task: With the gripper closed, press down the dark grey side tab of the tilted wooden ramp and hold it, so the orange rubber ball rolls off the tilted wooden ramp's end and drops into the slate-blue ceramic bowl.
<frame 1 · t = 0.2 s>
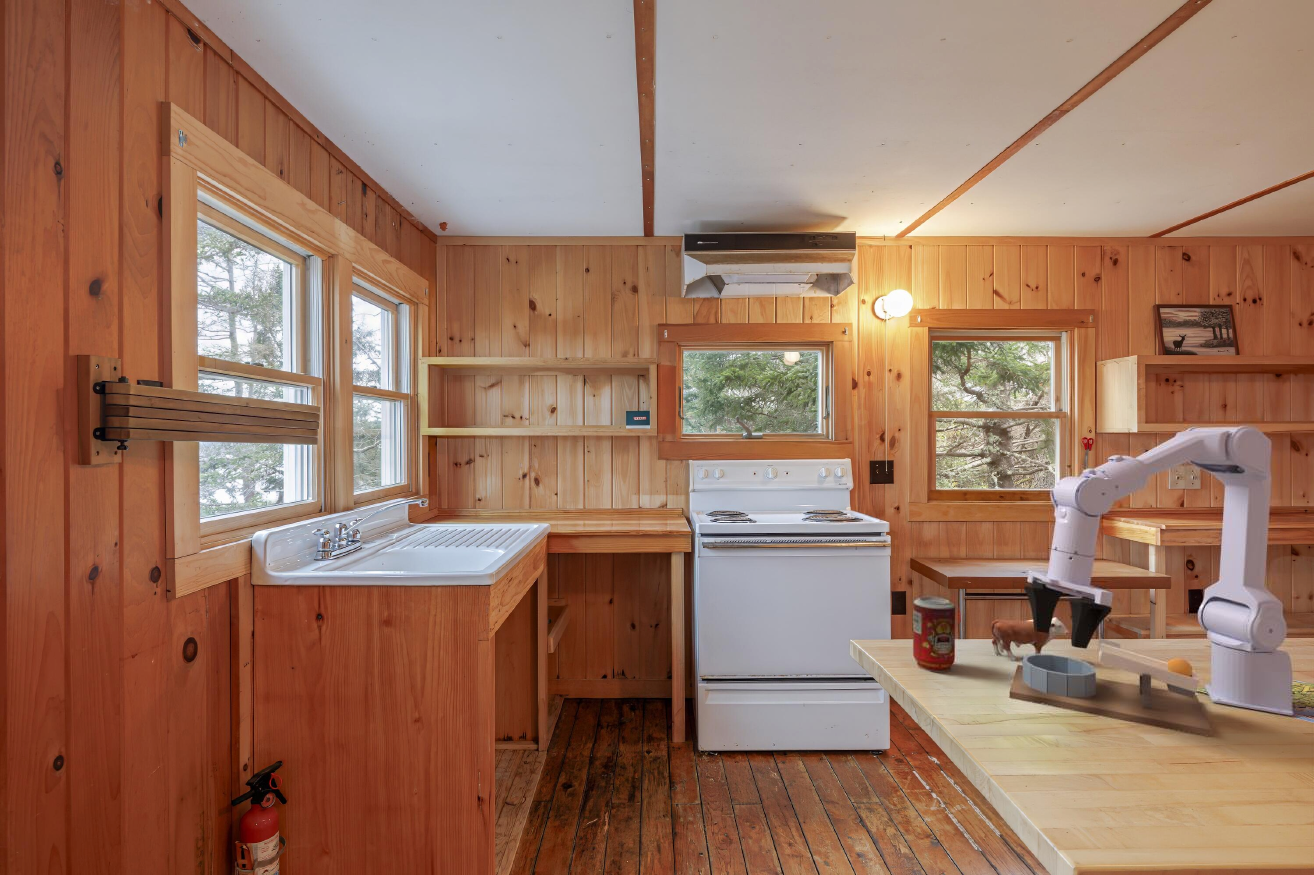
hand: (1059, 639, 102), 11 cm above the worktop, tool pointing down, fingers open, 7 cm apart
bull figurine: (1027, 659, 124), on the worktop
soda can: (933, 667, 120), on the worktop
ball: (1179, 668, 99), point 7 cm above the worktop, tilted 13°, touching tilted wooden ramp
base board: (1102, 699, 105), on the worktop
bowl: (1058, 691, 108), resting on base board
tilted wooden ramp: (1143, 662, 105), point 6 cm above the worktop, hinge at -10.0°, touching ball
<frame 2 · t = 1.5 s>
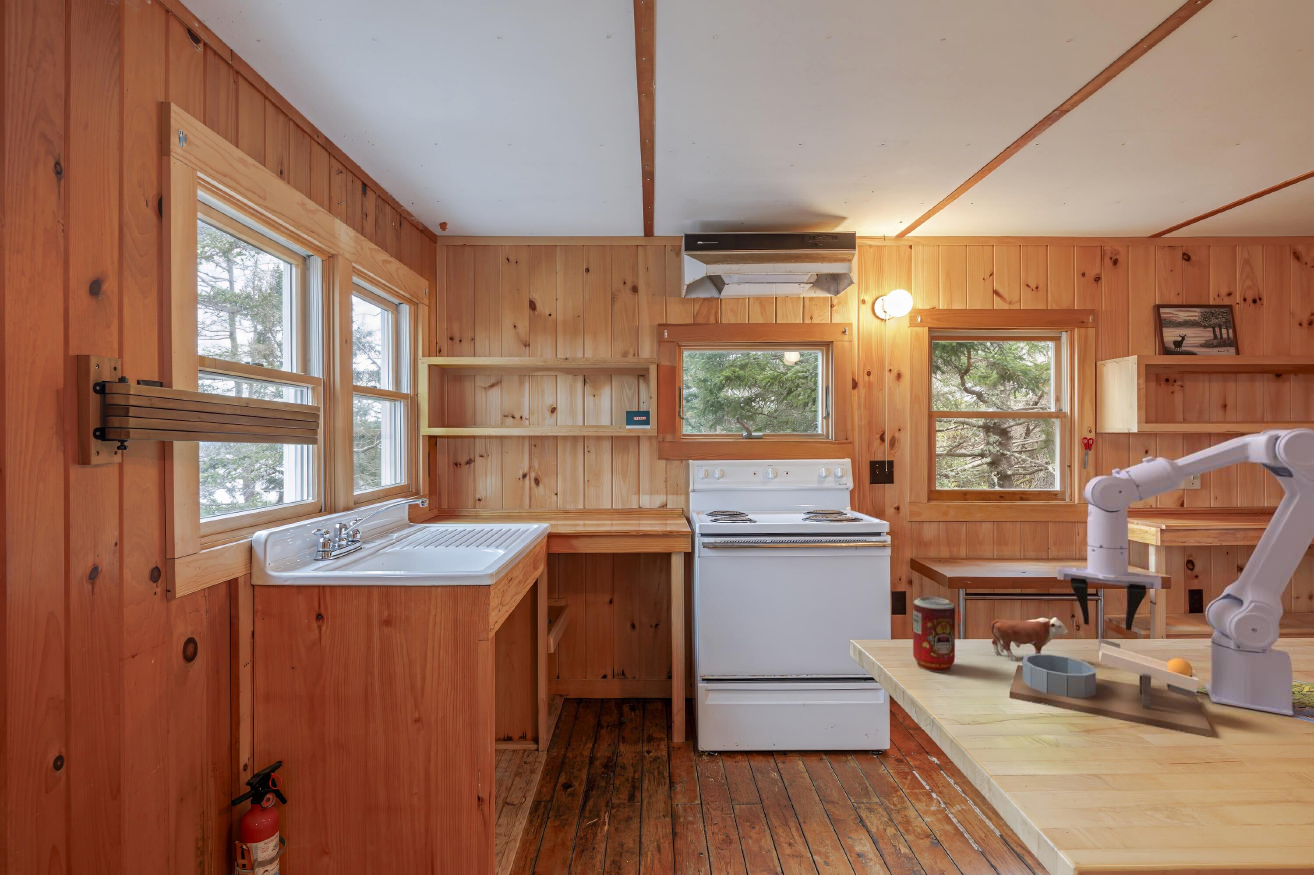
hand: (1107, 626, 111), 10 cm above the worktop, tool pointing down, fingers open, 5 cm apart
nothing on the worktop moved.
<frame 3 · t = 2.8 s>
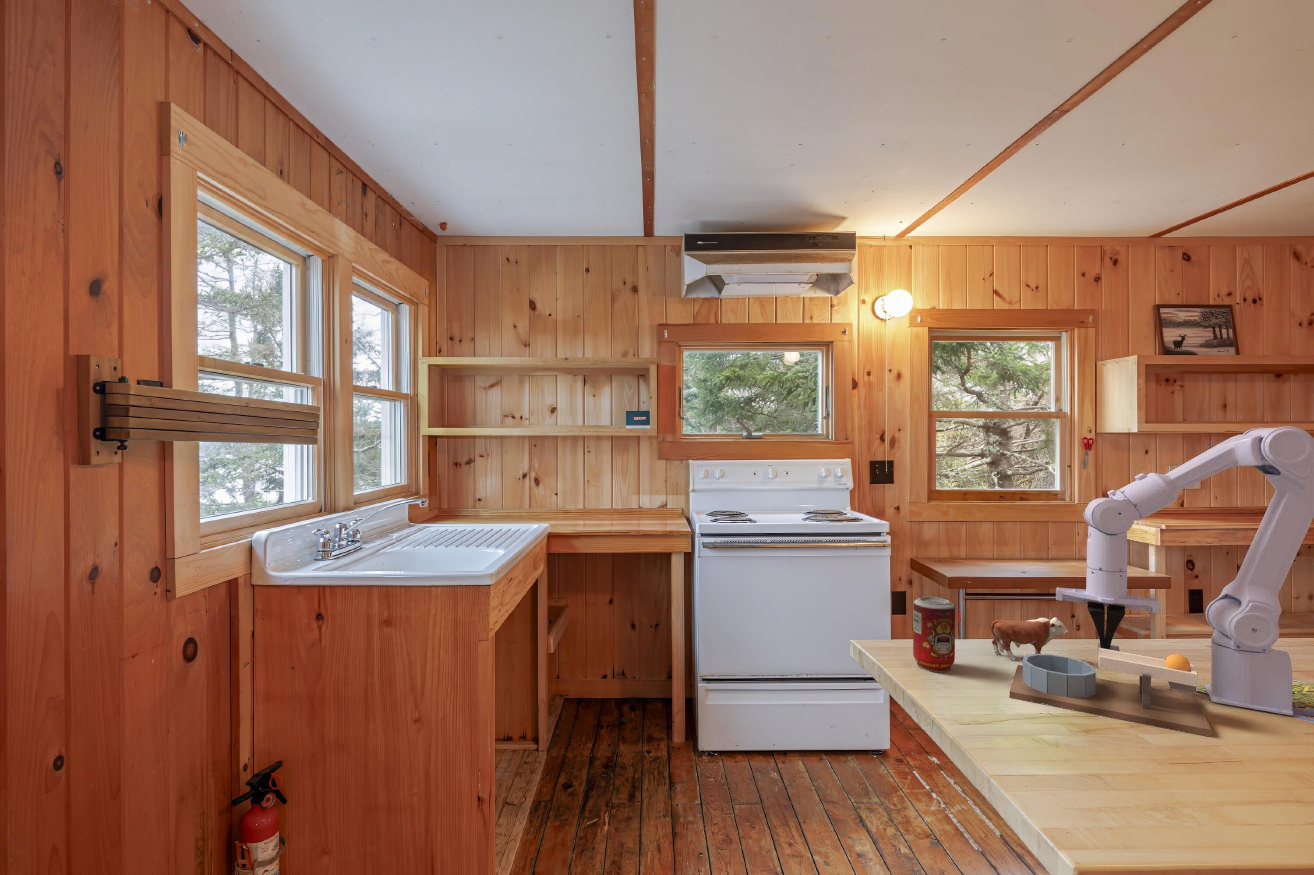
hand: (1105, 648, 112), 6 cm above the worktop, tool pointing down, fingers closed, pressing on tilted wooden ramp
ball: (1177, 664, 99), point 7 cm above the worktop, touching tilted wooden ramp
tilted wooden ramp: (1143, 662, 105), point 6 cm above the worktop, hinge at -1.8°, touching ball, gripper
everything else where it was.
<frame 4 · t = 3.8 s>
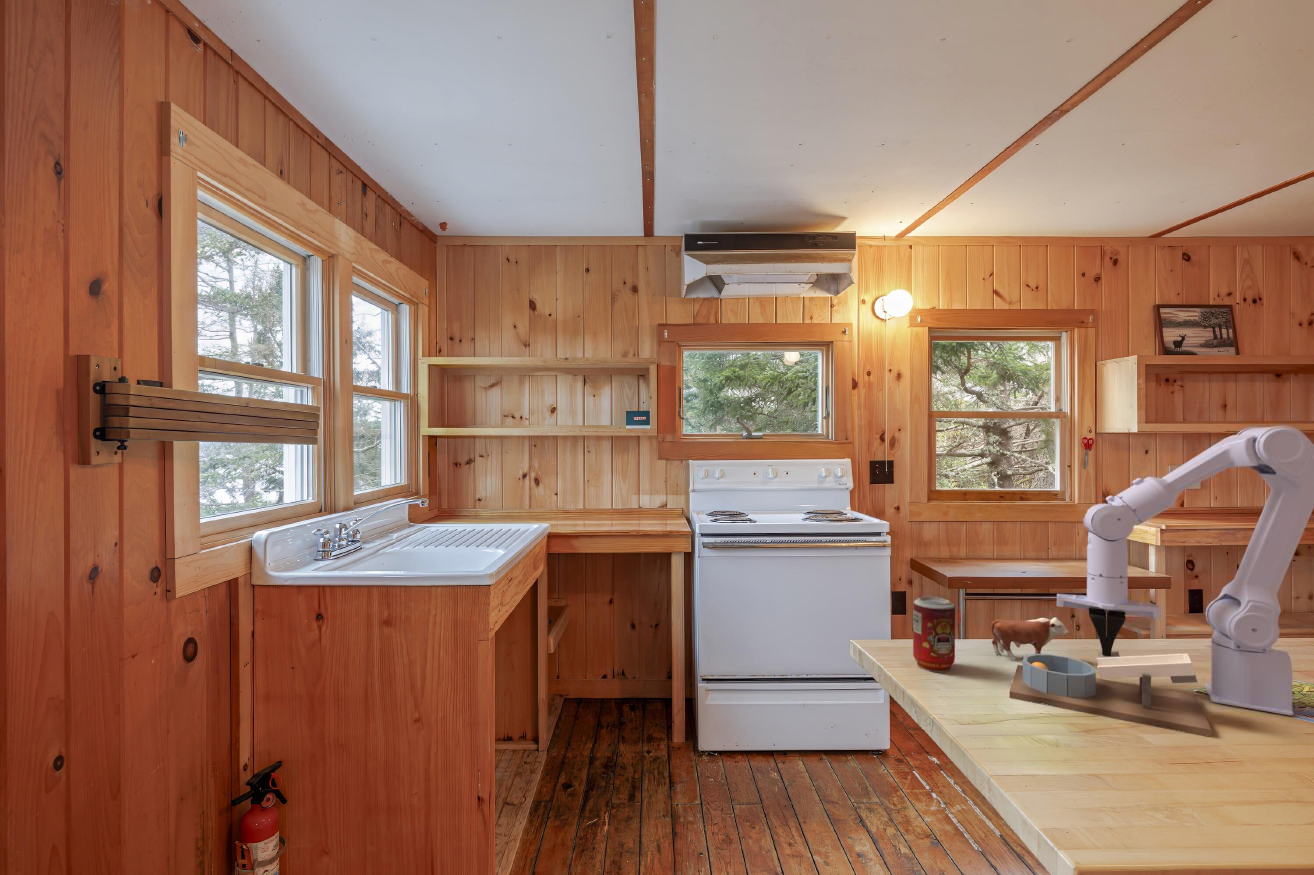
hand: (1106, 654, 111), 5 cm above the worktop, tool pointing down, fingers closed
ball: (1038, 671, 110), point 3 cm above the worktop, tilted 9°, touching bowl
tilted wooden ramp: (1142, 662, 105), point 6 cm above the worktop, hinge at 14.0°, touching gripper
everything else where it was.
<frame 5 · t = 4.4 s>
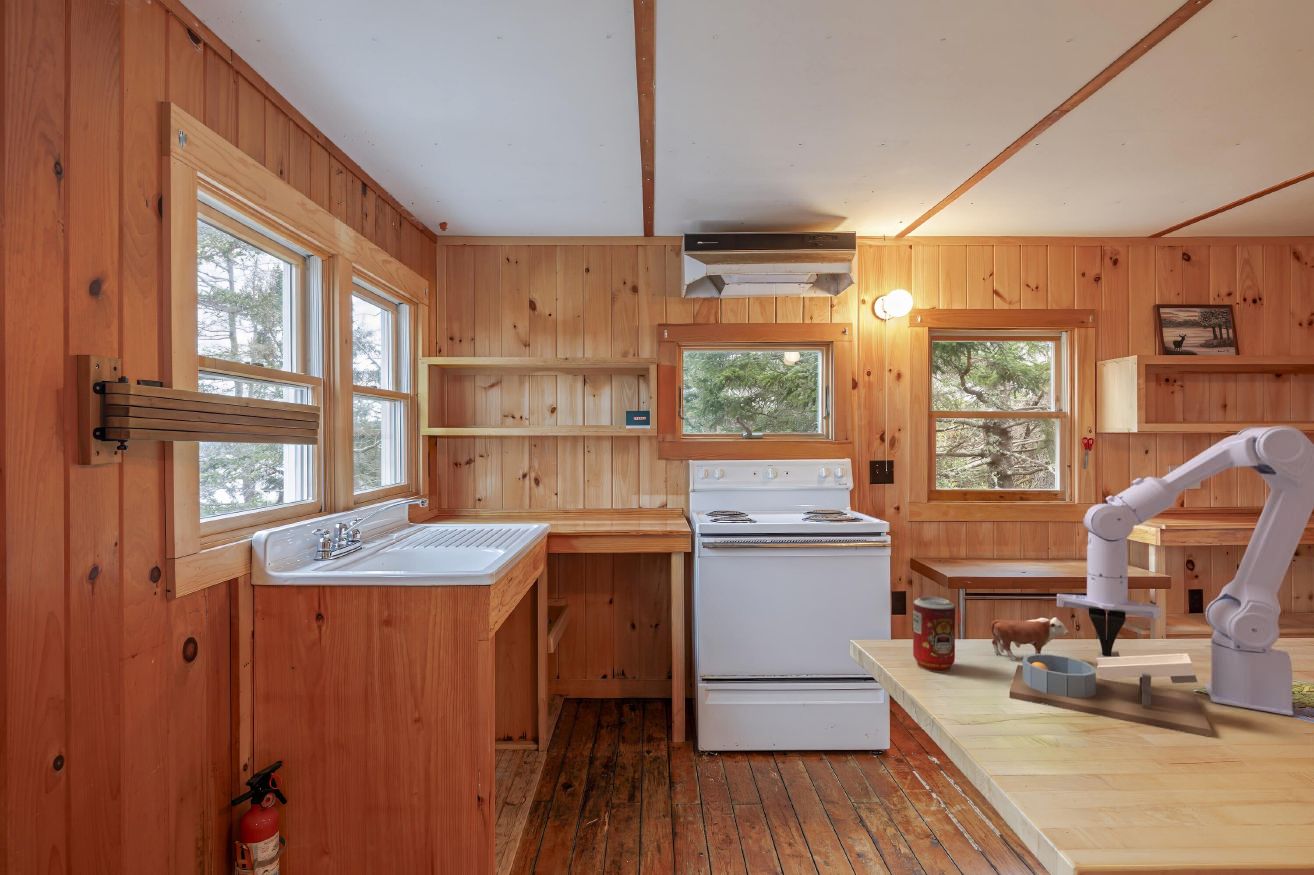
hand: (1106, 654, 111), 5 cm above the worktop, tool pointing down, fingers closed
nothing on the worktop moved.
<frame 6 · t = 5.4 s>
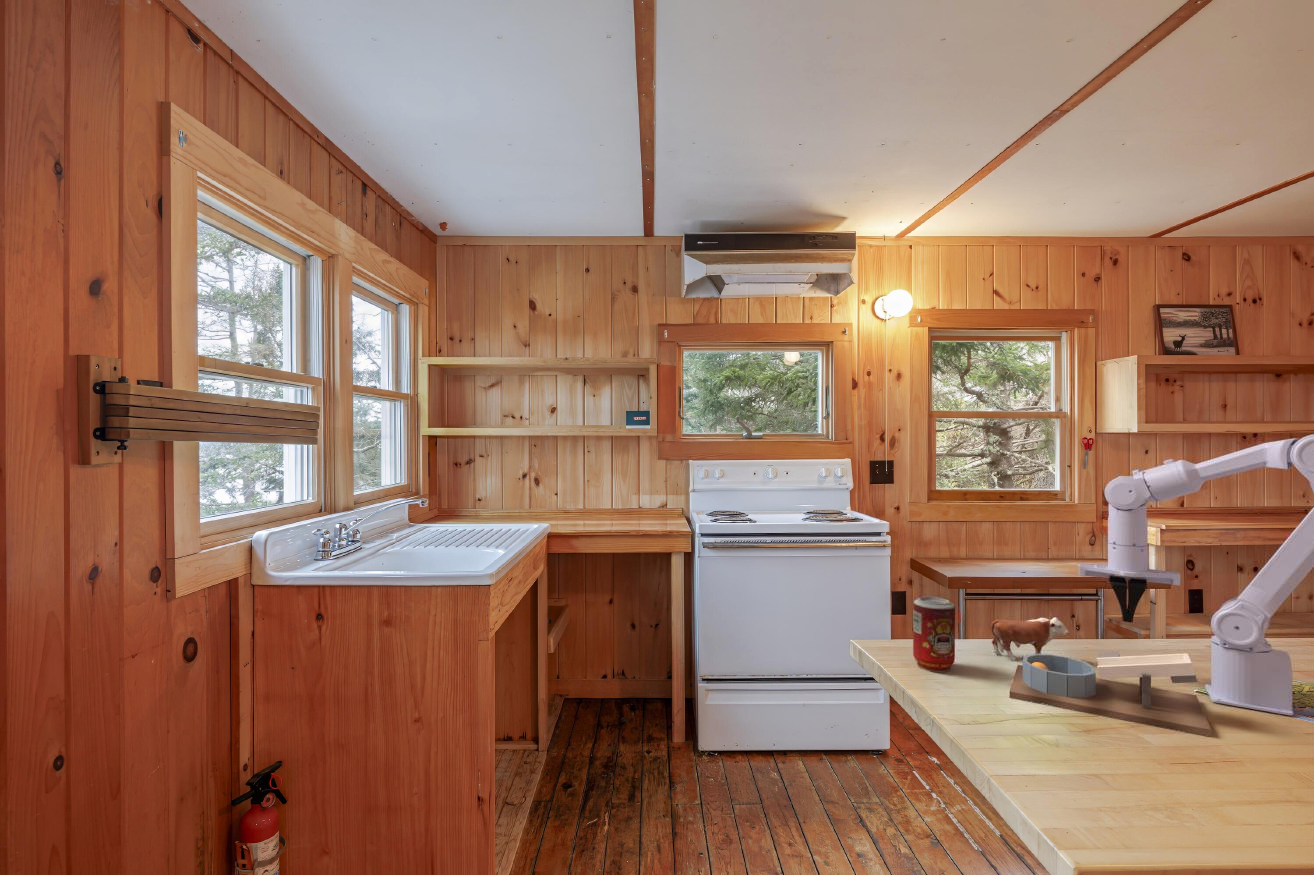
hand: (1127, 620, 116), 10 cm above the worktop, tool pointing down, fingers closed
tilted wooden ramp: (1142, 662, 105), point 6 cm above the worktop, hinge at 14.0°
everything else where it was.
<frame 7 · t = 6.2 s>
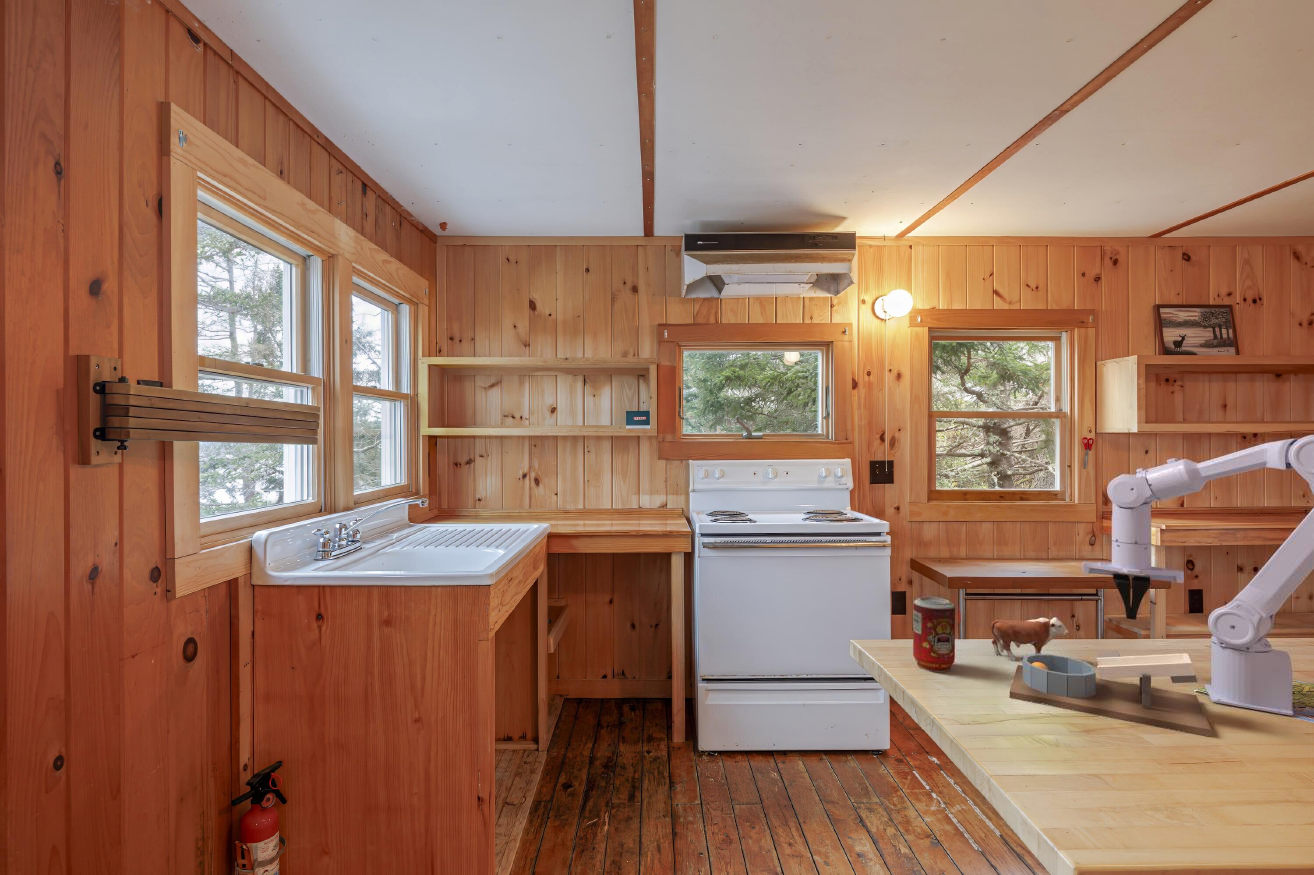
hand: (1131, 618, 116), 10 cm above the worktop, tool pointing down, fingers closed
nothing on the worktop moved.
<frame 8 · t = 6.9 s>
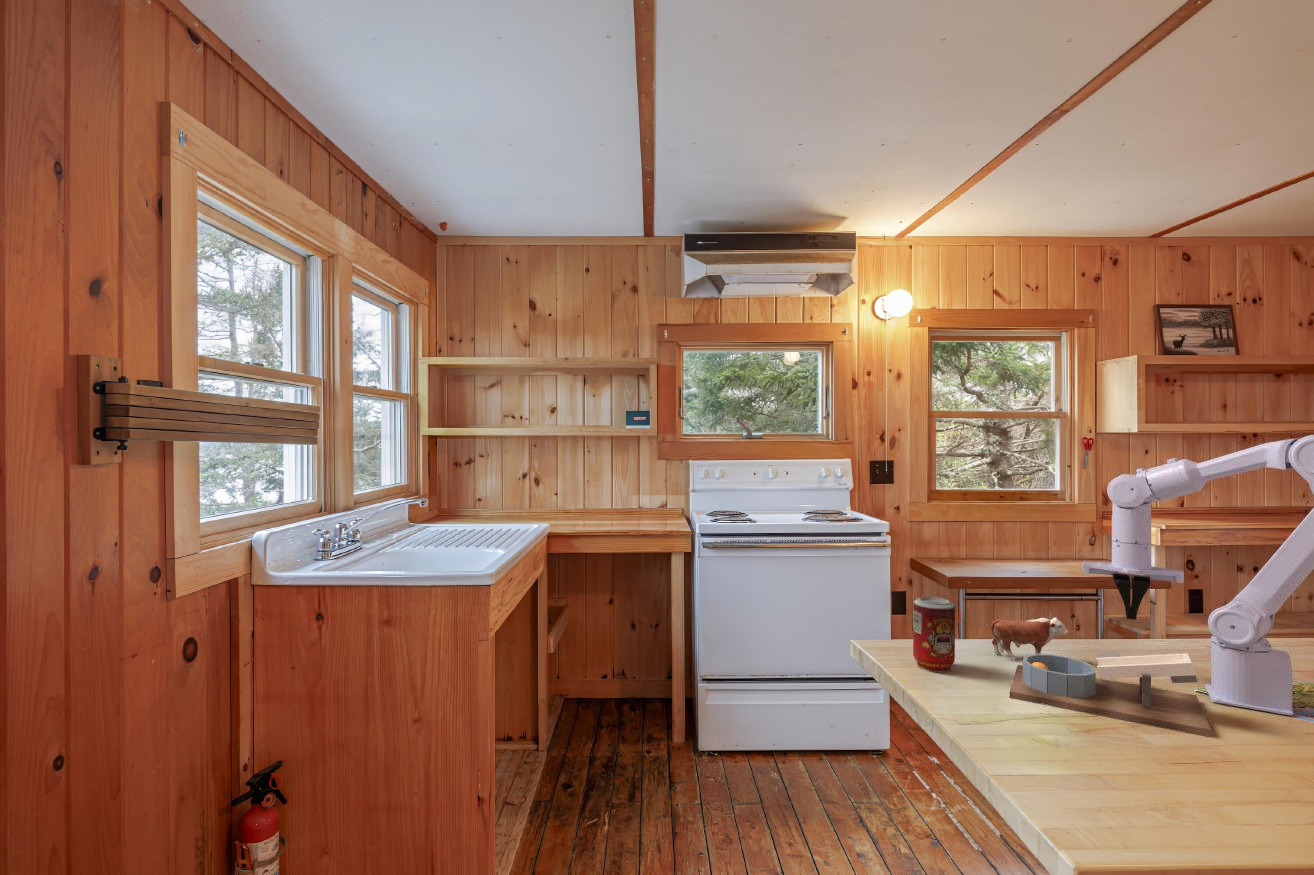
hand: (1131, 618, 116), 10 cm above the worktop, tool pointing down, fingers closed
nothing on the worktop moved.
at the end: ball inside the target area on the bowl (2.8 cm from its centre), point 2.7 cm above the bowl's base; ball moved 18.7 cm from its start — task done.
